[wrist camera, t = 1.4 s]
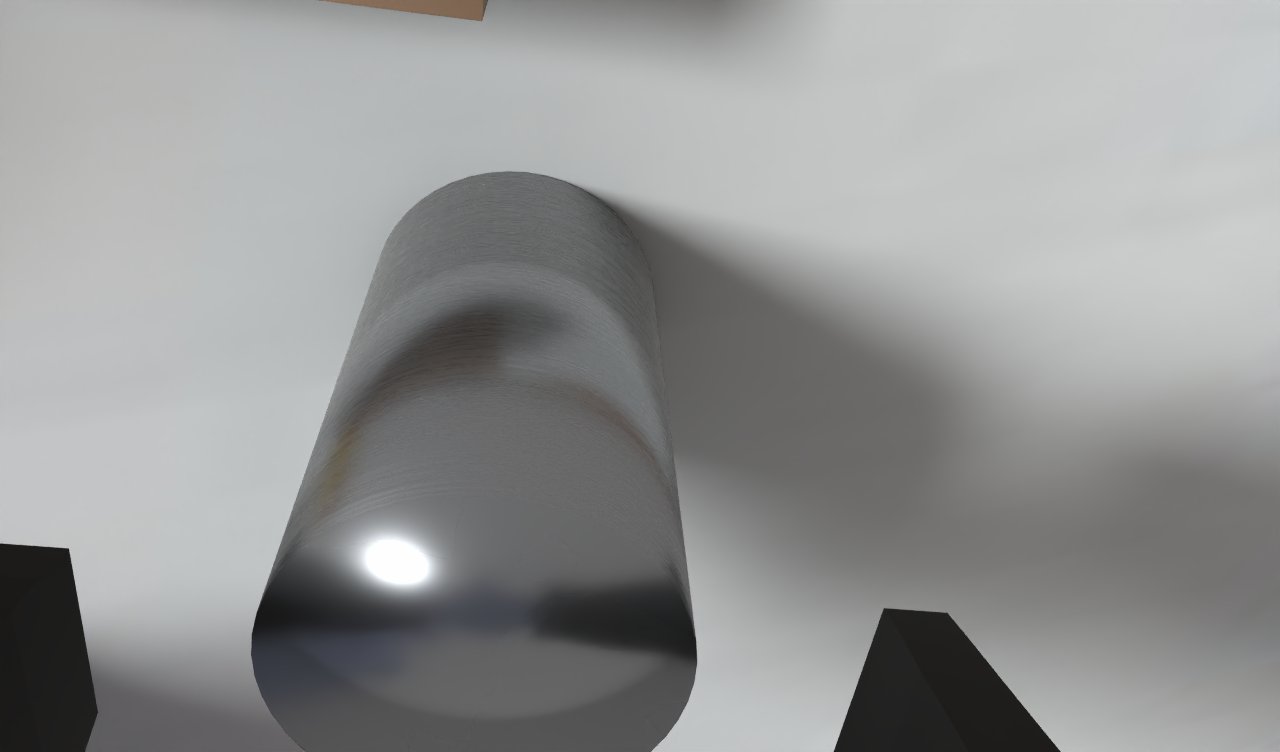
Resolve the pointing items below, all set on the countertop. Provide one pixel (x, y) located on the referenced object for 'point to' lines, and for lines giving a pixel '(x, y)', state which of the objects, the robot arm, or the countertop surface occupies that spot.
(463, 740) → the peg
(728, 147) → the countertop surface
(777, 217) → the countertop surface
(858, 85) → the countertop surface
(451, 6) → the socket block
